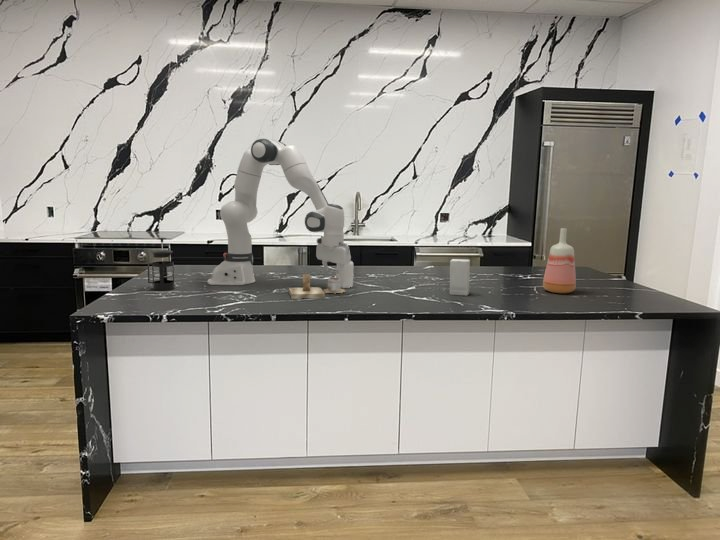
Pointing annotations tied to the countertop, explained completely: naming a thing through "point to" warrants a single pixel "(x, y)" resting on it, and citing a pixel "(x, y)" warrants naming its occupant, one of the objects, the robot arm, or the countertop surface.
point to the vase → (560, 267)
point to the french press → (162, 270)
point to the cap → (333, 284)
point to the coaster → (333, 292)
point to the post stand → (306, 290)
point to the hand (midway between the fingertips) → (332, 272)
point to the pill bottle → (346, 275)
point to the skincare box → (459, 276)
